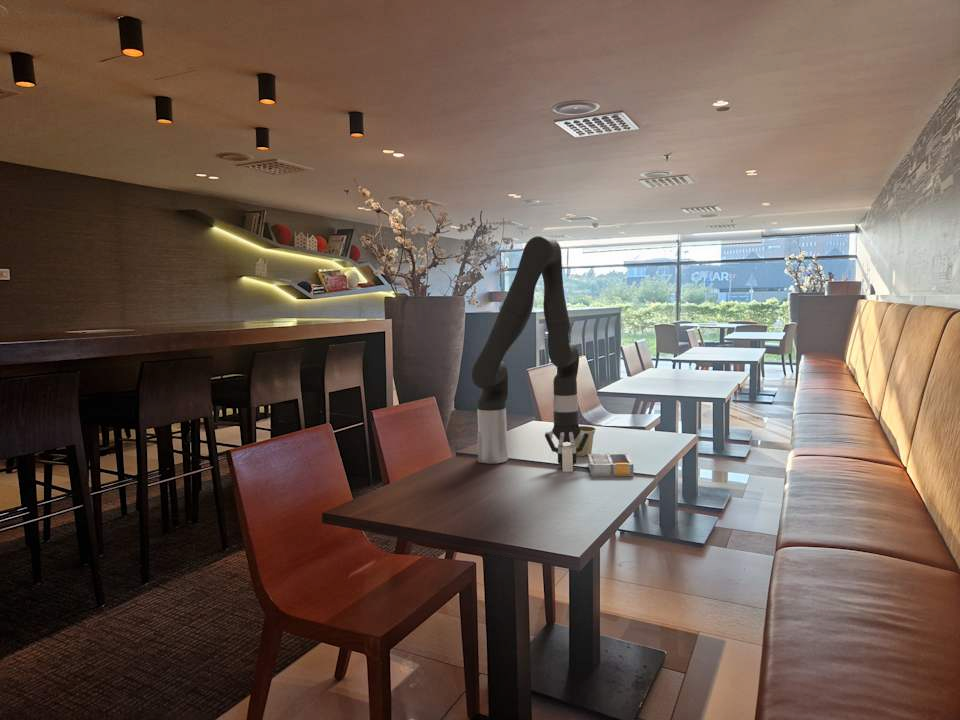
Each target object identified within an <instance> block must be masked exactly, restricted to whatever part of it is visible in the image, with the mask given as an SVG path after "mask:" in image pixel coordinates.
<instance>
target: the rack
mask: <svg viewBox="0 0 960 720" xmlns="http://www.w3.org/2000/svg"><path fill="white" fill-rule="evenodd" d="M587 466H588V470H589V473H590V477H593V478H594V477H597V478H598V477H599V478H601V477H603V478H605V477H611V478H612V477H634V463H633V461H632V459H631V457H630V456H629V454H628V453H627V452H626V453H624V452H623V453H591V454H588V456H587Z"/></svg>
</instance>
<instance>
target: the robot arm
mask: <svg viewBox="0 0 960 720" xmlns="http://www.w3.org/2000/svg"><path fill="white" fill-rule="evenodd" d="M562 263H563V261H562V249H561V245H560V243H559V242H558V241H557V240H556V239H555V238H552V237H548V236H544V235H543V236H541V235H536V236H533V237H531V238H530V239H529V240H528V241H527V242H526V244H525V246H524V248H523V250H522V255H521V257H520V260H519V263H518V266H517V269H516V272H515V275H514V278H513V281H512V282H511V285H510V286H509V289H508V291H507V294H506V296H505V299H504V301H503V302H502V304H501V307H500V309H499V311H498V314H497V317H496V320H495V322H494V324H493V326H492V329H491V331H490V333H489V336H488V338H487V340H486V342H485V344H484V347H483V348H482V351H481V352H480V354H479V355H478V357H477V358H476V361H475V363H474V364H473V366H472V370H471V380H472V383H473V384H474V386H475V387H477V388H478V389H482V393H481V395H480V397H478V400H477V402H476V405H477V407H476V408H477V410H476V411H477V435H476V436H477V453H478V455H477V456H478V458H477V459H478V463H483V464H490V465H492V464H501V463H505V462H507V461H508V457H509V456H508V453H509V452H508V431H507V428H508V427H507V408H506V407H507V406H506V405H507V400H508V396H509V395H508V394H509V391H508V390H509V375H508V368H507V366H506V364H505V362H504V361H503V359H504V358H505V355H506V354H507V352H508V351H509V350H510V348H511V347H512V346H513V344H514V343H516V341H517V340H518V338H520V336H521V335H522V333H523V331H524V330H525V328H526V325H527V323H528V321H529V319H530V317H531V314H532V312H533V308H534V307H533V306H534V301H535V299H534V298H535V289H536V287H537V283H538V281H539V279H540V277H541V276H542V281H543V304H542V305H543V306H542V307H543V315H544V319H545V326H546V329H547V350H548V352H547V353H548V357H549V360H550V362H551V363H552V365H554V366H555V367H556V368H557V369H556V375H554V377H553V382H552V383H553V384H552V385H553V397H552V399H553V400H552V403H553V405H552V411H553V412H552V413H553V427H552V428H551V429H552V430H550V431H548V432H547V431H546V432H545V433H544V437H545V439H546V442H547V444H548V445H549V447H550V449H551V451H552V452H553V453H556V454H557V463H558V464H559V465H560V466H561V467H562V447H563V443H571V447H572V454H573V466H575V464H577V456H576V453H577V452H579V451H582V449H583V447H584V445H585V443H586V440H587V438H588V436H589V435H588V432H584V431H581V430H580V428H579V426H580V424H579V423H580V421H579V420H580V419H579V399H578V382H577V380H578V379H577V377H578V373H579V366H580V353H579V349H578V348H577V346H576V345H575V344H573V343H572V342H570V338H569V334H570V332H571V321H570V317H569V312H568V307H567V303H566V302H567V301H566V298H565V297H566V295H565V289H564V288H565V287H564V279H563V265H562ZM579 433H580V434H581V438H582V439H581V441H580V444H579V446H578V447H575V442H574V440H575V439H576V438H577V436H578V435H579ZM554 436H555V438H556V439H557V440H558V445H557V447H556V446H555V443H554V442H553V440H552V439H553V438H554Z"/></svg>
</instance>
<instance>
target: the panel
mask: <svg viewBox="0 0 960 720" xmlns="http://www.w3.org/2000/svg"><path fill="white" fill-rule="evenodd" d="M561 468H562V473H572V472H574V465H573V454H572V447H571V443H569V442H565V443H563V447H562V466H561Z"/></svg>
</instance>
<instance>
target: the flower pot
mask: <svg viewBox="0 0 960 720" xmlns="http://www.w3.org/2000/svg"><path fill="white" fill-rule="evenodd" d="M579 428H580V430H581V431H584V432H588V435H589V436H588V438H587V440H586V443H585V445H584V447H583V449H582V451H579V452H577V453H576V457H585V456H587V457H588V454H592V450H593V441H594V435H595V432H596V430H597V429H596V428H595V427H594V426H589V425H588V426H587V425H579ZM581 439H582V438H581V434H580V433H579V435H578V436H577V438H576V439H575V440H574V442H575V447H578V446H579V444H580V441H581Z"/></svg>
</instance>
